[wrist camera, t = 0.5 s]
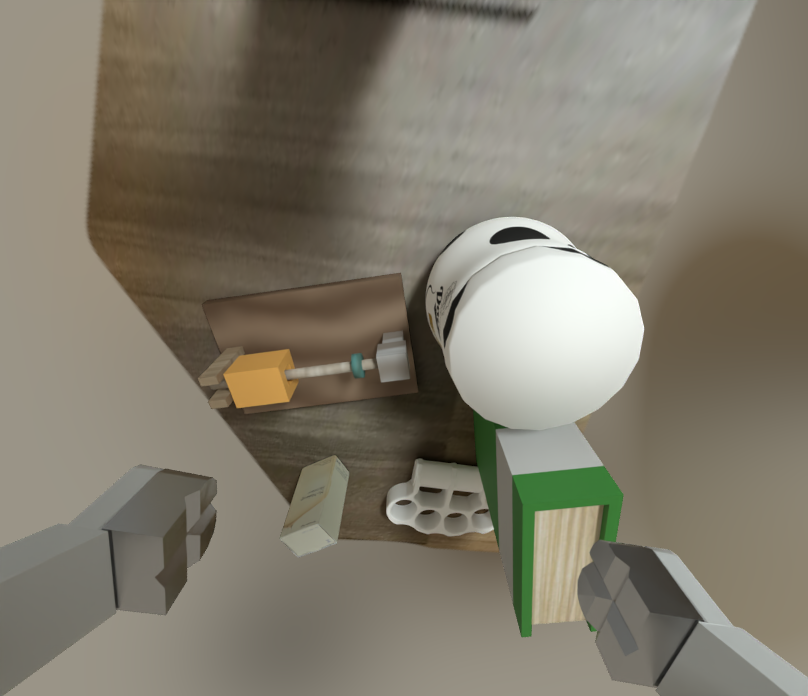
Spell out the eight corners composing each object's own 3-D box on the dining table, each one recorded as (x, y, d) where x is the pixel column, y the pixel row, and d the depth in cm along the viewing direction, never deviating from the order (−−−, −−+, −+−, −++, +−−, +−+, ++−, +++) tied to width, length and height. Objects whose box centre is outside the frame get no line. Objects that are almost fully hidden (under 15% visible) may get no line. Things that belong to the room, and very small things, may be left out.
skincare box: (335, 453, 57) (319, 521, 46) (350, 473, 58) (338, 543, 47) (300, 468, 58) (277, 538, 47) (316, 487, 60) (297, 559, 49)
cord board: (207, 300, 46) (165, 328, 38) (400, 272, 45) (400, 296, 37) (248, 407, 53) (221, 451, 45) (417, 386, 52) (420, 427, 43)
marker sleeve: (239, 355, 44) (223, 374, 40) (289, 348, 44) (277, 367, 40) (251, 387, 46) (236, 408, 42) (299, 381, 46) (289, 401, 42)
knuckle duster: (509, 464, 58) (485, 529, 65) (395, 450, 57) (382, 517, 63) (515, 481, 55) (490, 547, 62) (395, 466, 54) (381, 535, 60)
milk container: (397, 311, 47) (394, 387, 31) (477, 180, 40) (528, 189, 24) (508, 372, 51) (557, 468, 35) (597, 262, 44) (710, 317, 28)
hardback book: (525, 455, 57) (600, 630, 35) (476, 460, 57) (521, 637, 36) (526, 351, 49) (623, 494, 28) (470, 358, 50) (522, 504, 28)
